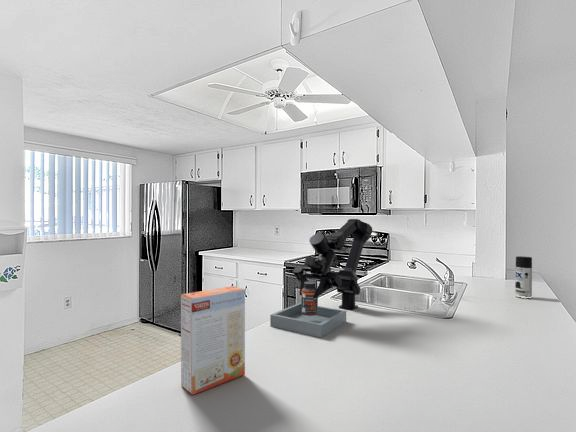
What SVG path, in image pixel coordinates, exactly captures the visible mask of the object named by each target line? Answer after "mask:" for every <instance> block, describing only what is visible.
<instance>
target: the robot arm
mask: <svg viewBox="0 0 576 432" xmlns="http://www.w3.org/2000/svg"><path fill="white" fill-rule="evenodd" d="M372 234H373V227H372V226H371V224H370V223H367V222H364V221H362V220H360V219H358V218H349V219H347V222H345V223H344V225H342V226H341V227H340V228H339V229H338V230H337V231H335V232H331V233H329V234H327V235H325V233H324V231H318V232H317V233H315V234H313V235H312V236H310V237H309V243H310V245H311V247H312V249H313V251H314V252H315V253H316V254H318V257H317V256H316V257H315V256H305V260H304V264H303V265H304V266H306V267H307V269H308V271H309V272H307V271H306V270H307V269H305V268H303V267H295V268H293V270H292V274H293V275H294V277H295V278H296V279H297V281H299V282H300V284H299V285H300V286H299V287H300V288H299V295H300V297H301V296H302V289H303V288H304V283H305V282H310V281H309V279H313V280H319V283H318V286H317V288H316V289H317V290H316V292H315V295H314V297H315V298H317V297H318V298H319V297H320V296H321V295H322V294H324V293H326V292H327V291H328V290H330V289H333V288H336V291H337V293H341V304H340V305H338V308H340V309H345V310H352V311H353V310H355V309H357V308H359V305H358V304H356V295H357V296H359V295H360V294H361V291H362V290H361V287H360V285H359V283H358V275H357V269H358V265H359V264H360V263H359V262H360V259H361V256H362V253H363V248H364V245H365V243H366V242H367V241H369V240H370V238H371V236H372ZM350 236H351V237H352V239H353V241H352V243H351V247H350V250H349V254H348V256H347V260H346V263H345V266H344V268H343V269H339V270H338V272H336V271H331V270H332V268H331V266H332V264H333V261H337V260H338V257H337V253H336V252H335V251H341V250H342V249H343V248H344V246H345V245H346V240H347V239H348V238H349V237H350Z"/></svg>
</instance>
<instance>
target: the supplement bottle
mask: <svg viewBox="0 0 576 432" xmlns="http://www.w3.org/2000/svg"><path fill="white" fill-rule="evenodd" d="M316 290H317V288H316V282H314V281H309V282H305V283H304V288H303V289H302V296H301V295H300V297H301V300H300V301H301V302H300V303H301V313H302V314H303V315H307V316H313V315H316V314H317V313H318V306H319V301H318V300H319V296H318V297H317V298H315V297H314V295H315V292H316Z"/></svg>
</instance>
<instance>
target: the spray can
mask: <svg viewBox="0 0 576 432" xmlns="http://www.w3.org/2000/svg"><path fill="white" fill-rule="evenodd" d="M514 287H515V290H514V291H515V292H514V293H515V294H516V295H519V296H525V297H531V296H533V294H532V293H533V258H532V256H515V286H514ZM515 294H514V295H515Z"/></svg>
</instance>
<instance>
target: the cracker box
mask: <svg viewBox="0 0 576 432" xmlns="http://www.w3.org/2000/svg"><path fill="white" fill-rule="evenodd" d="M245 301H246V289H245V288H240V287H237V286H235V285H229V286H224V287H218V288H212V289H207V290H206V289H205V290H202V291H201V290H200V291H194V292H188V293H182V294H180V386H181V387H182V388H183V389H184V390H186V391H187V392H188V393H189V394H190V395H191V396H193V395H196V394H199V393H201V392H203V391H207V390H208V389H209V390H210V389H212V388H215V387H216V386H219V385H222V384H225V383H227V382H229V381H231V380H235V379H237V378H240V377H242V376H244V375H246V308H245V307H246V304H245V303H246V302H245Z"/></svg>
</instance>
